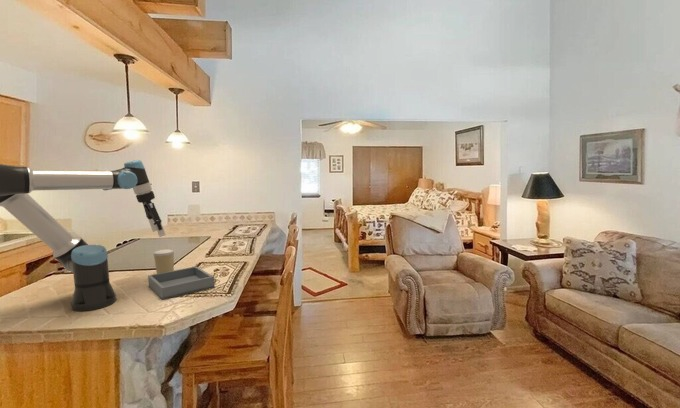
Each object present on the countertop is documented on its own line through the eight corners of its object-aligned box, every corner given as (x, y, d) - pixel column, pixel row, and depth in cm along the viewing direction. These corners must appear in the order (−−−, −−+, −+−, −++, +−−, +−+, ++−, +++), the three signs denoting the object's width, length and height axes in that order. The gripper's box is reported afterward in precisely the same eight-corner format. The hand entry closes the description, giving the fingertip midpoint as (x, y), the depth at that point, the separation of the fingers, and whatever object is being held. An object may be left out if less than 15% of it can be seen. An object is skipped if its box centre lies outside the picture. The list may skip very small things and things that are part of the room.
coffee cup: (178, 271, 189) (177, 249, 188) (168, 277, 180) (167, 253, 179) (162, 271, 190) (160, 249, 189) (151, 276, 181) (149, 253, 180)
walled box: (162, 299, 150) (161, 288, 149) (148, 286, 167) (147, 275, 167) (214, 287, 164) (213, 276, 163) (196, 275, 182) (196, 266, 181)
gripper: (158, 192, 163) (173, 235, 170) (146, 187, 183) (160, 226, 189) (140, 198, 159) (157, 241, 166) (130, 192, 178) (145, 231, 185)
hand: (159, 233), depth 177 cm, fingers open, 13 cm apart
